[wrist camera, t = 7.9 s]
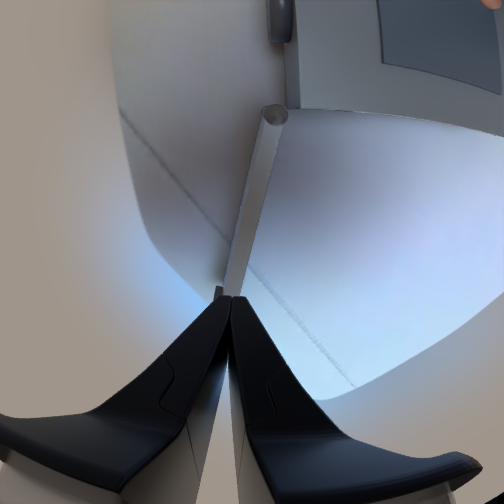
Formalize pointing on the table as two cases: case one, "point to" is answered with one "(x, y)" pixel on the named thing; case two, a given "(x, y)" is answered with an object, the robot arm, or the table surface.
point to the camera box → (395, 58)
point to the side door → (253, 197)
